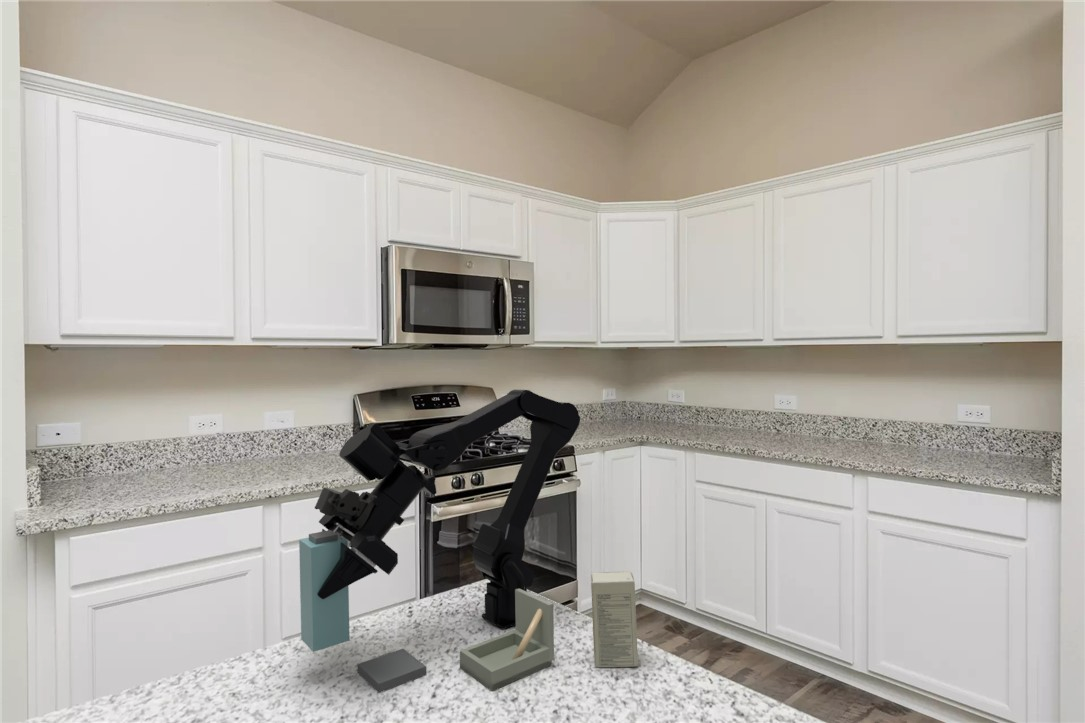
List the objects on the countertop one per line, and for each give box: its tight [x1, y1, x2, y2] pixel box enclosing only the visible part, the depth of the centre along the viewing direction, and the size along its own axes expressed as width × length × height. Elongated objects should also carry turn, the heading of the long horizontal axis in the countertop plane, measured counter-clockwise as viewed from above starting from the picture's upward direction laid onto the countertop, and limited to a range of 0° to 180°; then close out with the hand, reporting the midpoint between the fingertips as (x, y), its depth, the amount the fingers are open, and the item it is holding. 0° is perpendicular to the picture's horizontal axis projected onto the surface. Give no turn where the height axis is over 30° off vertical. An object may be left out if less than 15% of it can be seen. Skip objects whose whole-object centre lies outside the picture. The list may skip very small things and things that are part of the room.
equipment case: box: [459, 589, 555, 692], centre depth 85 cm, size 11×8×9 cm
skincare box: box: [590, 570, 639, 668], centre depth 86 cm, size 6×4×12 cm
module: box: [298, 529, 351, 653], centre depth 84 cm, size 5×5×15 cm
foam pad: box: [356, 648, 427, 694], centre depth 83 cm, size 7×7×1 cm
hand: (314, 591), depth 83 cm, fingers closed on module, 5 cm apart
